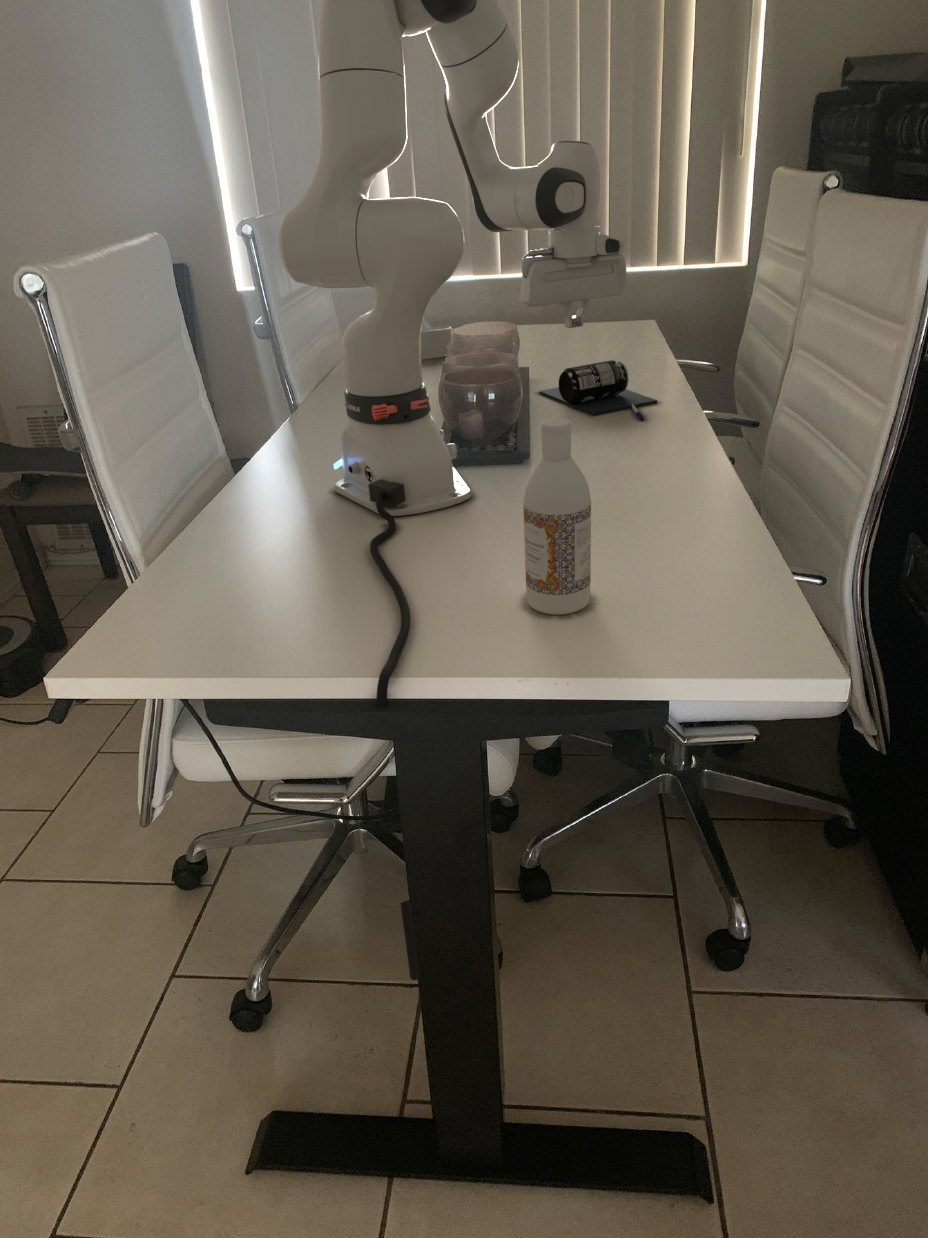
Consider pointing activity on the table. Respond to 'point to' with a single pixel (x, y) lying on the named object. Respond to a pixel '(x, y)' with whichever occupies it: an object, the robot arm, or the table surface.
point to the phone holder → (434, 340)
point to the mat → (603, 401)
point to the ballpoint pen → (637, 413)
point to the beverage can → (593, 381)
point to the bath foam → (557, 527)
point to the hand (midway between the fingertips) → (573, 326)
